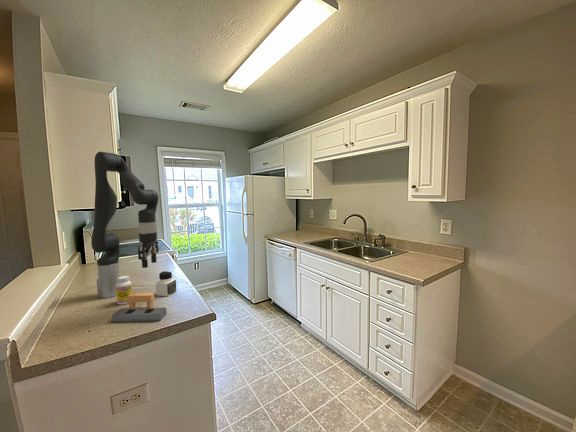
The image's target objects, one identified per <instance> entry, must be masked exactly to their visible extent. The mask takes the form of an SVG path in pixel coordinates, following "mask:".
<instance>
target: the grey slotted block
mask: <svg viewBox="0 0 576 432" xmlns="http://www.w3.org/2000/svg"><path fill="white" fill-rule="evenodd" d="M167 312H168V311H167V307H152V308H147V307H141V308H140V307H139V308H138V307H135V308H130V307H129V308H120V309H118V310H117V311H115V312H114V313H113V314H111V322H112V323H122V322H123V323H124V322H126V323H127V322H135V323H136V322H161V320H162V319H164V317H165V316H167V314H168V313H167Z"/></svg>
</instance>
